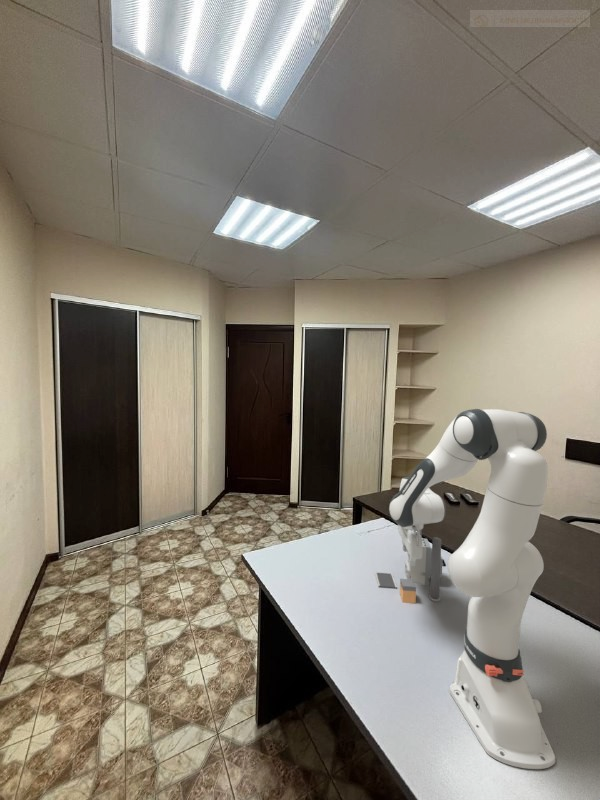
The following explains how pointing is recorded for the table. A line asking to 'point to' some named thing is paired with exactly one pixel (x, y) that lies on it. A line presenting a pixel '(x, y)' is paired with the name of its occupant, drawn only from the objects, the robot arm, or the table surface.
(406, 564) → the circuit breaker
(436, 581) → the cord posts
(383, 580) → the mat
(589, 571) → the table surface
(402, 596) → the orange and grey block
